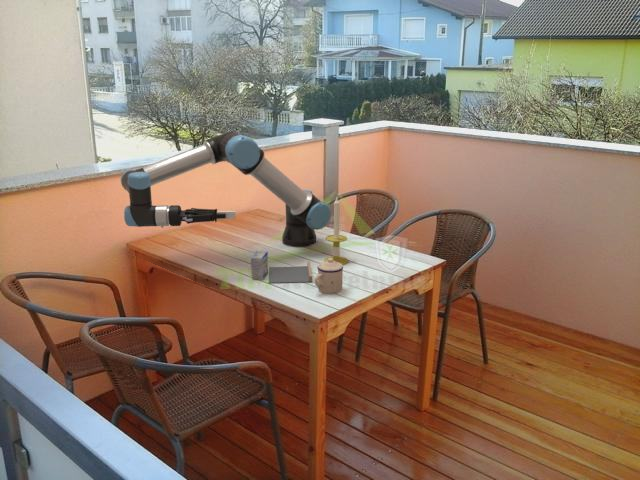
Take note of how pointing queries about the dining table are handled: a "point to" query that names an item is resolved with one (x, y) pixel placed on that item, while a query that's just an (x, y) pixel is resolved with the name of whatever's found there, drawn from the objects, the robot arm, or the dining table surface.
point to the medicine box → (259, 265)
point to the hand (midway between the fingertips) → (235, 215)
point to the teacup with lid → (329, 277)
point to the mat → (290, 274)
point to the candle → (337, 237)
